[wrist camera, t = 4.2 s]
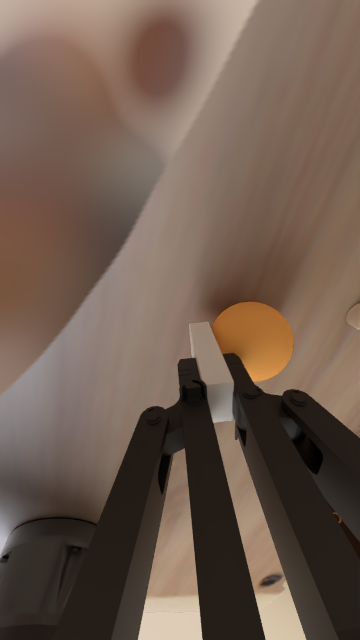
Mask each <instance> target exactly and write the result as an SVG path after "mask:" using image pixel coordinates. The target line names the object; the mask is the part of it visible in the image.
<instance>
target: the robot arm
mask: <svg viewBox="0 0 360 640" xmlns="http://www.w3.org/2000/svg"><path fill="white" fill-rule="evenodd" d="M189 329H190V342H191V354H192V358H187V359H180V361H179V363H178V374H179V385H180V388H179V391H180V398H179V400H178V402H177V403H176V404H175V405H173V406H172V407H170V408H167V409H164V408H162V407H159V406H153V407H150V408H147V409H146V410H145V411H144V412H143V413H142V414H141V416H140V418H139V421H138V423H137V426H136V428H135V431H134V433H133V436H132V438H131V441H130V443H129V446H128V448H127V451H126V454H125V456H124V459H123V461H122V464H121V466H120V469H119V471H118V474H117V476H116V479H115V481H114V484H113V486H112V489H111V492H110V494H109V497H108V499H107V502H106V504H105V507H104V509H103V512H102V514H101V517H100V519H99V522H98V525H97V526H96V525H93V524H91V523H87V522H84V521H79V520H73V519H44V520H38V521H33V522H29V523H26V524H24V525H22V526H20V527H18V528H16V529H15V530H14V531H13V532H12V533H11V534H10V536H9V538H8V540H7V542H6V544H5V546H4V548H3V550H2V552H1V555H0V640H138V635H139V630H140V625H141V620H142V615H143V610H144V604H145V599H146V594H147V589H148V584H149V579H150V573H151V568H152V563H153V558H154V553H155V548H156V542H157V537H158V532H159V527H160V522H161V517H162V511H163V506H164V501H165V496H166V491H167V486H168V480H169V475H170V470H171V465H172V460H173V455H174V453H176V452H178V451H180V450H182V449H184V448H185V453H186V464H187V475H188V486H189V497H190V508H191V519H192V529H193V540H194V551H195V562H196V573H197V584H198V595H199V606H200V617H201V627H202V638H203V640H265V636H264V631H263V627H262V623H261V619H260V615H259V611H258V606H257V602H256V598H255V594H254V590H253V586H252V581H251V577H250V573H249V569H248V565H247V561H246V557H245V552H244V548H243V544H242V540H241V536H240V532H239V528H238V523H237V519H236V515H235V511H234V507H233V503H232V499H231V494H230V490H229V486H228V482H227V478H226V474H225V470H224V465H223V461H222V457H221V453H220V449H219V445H218V441H217V436H216V432H215V428H214V424H213V423H217V422H225V421H233V416H234V419H235V440H237V439H238V438H239V441H240V444H241V447H242V450H243V453H244V456H245V459H246V462H247V465H248V468H249V471H250V474H251V477H252V480H253V483H254V486H255V489H256V492H257V495H258V497H259V500H260V503H261V506H262V509H263V512H264V515H265V518H266V521H267V524H268V527H269V530H270V533H271V536H272V539H273V542H274V545H275V548H276V551H277V554H278V557H279V560H280V563H281V566H282V569H283V572H284V575H285V577H286V580H287V583H288V586H289V589H290V592H291V595H292V598H293V601H294V604H295V607H296V610H297V613H298V616H299V619H300V622H301V625H302V628H303V631H304V634H305V636H306V639H307V640H360V559H359V557H358V556H357V554H356V552H355V550H354V549H353V547H352V545H351V543H350V542H349V540H348V538H347V536H346V535H345V533H344V531H343V529H342V528H341V526H340V524H339V522H338V521H337V519H336V517H335V515H334V514H333V512H332V510H331V508H330V507H329V505H328V503H329V504H330V505H331V507H332V508H333V509H334V510H335V512H336V513H337V514H338V515H339V517H340V518H341V519H342V521H343V522H344V523H345V524H346V526H347V527H348V528H349V529H350V531H351V532H352V533H353V534H354V536H355V537H356V538H357V539H358V541H359V542H360V438H359V437H358V436H356V435H355V434H354V433H353V432H352V431H351V430H349V429H348V428H347V427H346V426H345V425H343V424H342V423H341V422H340V421H339V420H338V419H336V418H335V417H334V416H333V415H332V414H330V413H329V412H328V411H327V410H326V409H325V408H323V407H322V406H321V405H320V404H319V403H317V402H316V401H315V400H314V399H313V398H312V397H310V396H309V395H308V394H306V393H305V392H302V391H300V390H295V389H291V390H287V391H285V392H284V393H283V395H282V396H279V395H271V394H267V393H264V392H263V391H262V389H261V388H259V387H258V386H256V385H254V383H253V381H252V379H251V377H250V375H249V374H248V372H247V370H246V368H245V366H244V364H243V363H242V361H241V359H240V357H239V356H237V355H236V354H235V353H226V354H222V353H221V351H220V348H219V346H218V344H217V341H216V339H215V337H214V334H213V332H212V329H211V327H210V325H209V322H199V323H190V324H189ZM325 499H326V500H327V501H326V500H325ZM327 502H328V503H327Z"/></svg>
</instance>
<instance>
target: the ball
mask: <svg viewBox="0 0 360 640" xmlns="http://www.w3.org/2000/svg"><path fill="white" fill-rule="evenodd" d="M212 332H213V334H214V337H215V339H216V341H217V344H218V346H219V348H220V351H221V353H222V354H226V353H235V354H236V355H237V356H239V357H240V359H241V361H242V363H243V364H244V366H245V368H246V370H247V372H248V374H249V375H250V377H251V379H252V381H253V382H258V381H263V380H267V379H269V378H271V377H273V376H275V375H277V374H278V373H280V372H281V371H282V370H283V369H284V368H285V366H286V365H287V364H288V362H289V360H290V358H291V355H292V352H293V347H294V340H293V334H292V330H291V328H290V326H289V324H288V322H287V321H286V319H285V318H284V317H283V316H282V314H280V313H279V312H278V311H277V310H275V309H274V308H272V307H270V306H268V305H266V304H263V303H258V302H242V303H238V304H235V305H233V306H230V307H229V308H227V309H225V310H224V311H223V312H222V313H221V314H220V315H219V316H218V317H217V319H216V320H215V322H214V324H213V326H212Z"/></svg>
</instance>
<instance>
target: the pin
mask: <svg viewBox="0 0 360 640" xmlns="http://www.w3.org/2000/svg"><path fill="white" fill-rule="evenodd" d="M346 322H347V323H348V324H349V325H350V326H352V327H354V328H356V329H358V330H359V331H360V303H358V304H356V305H354V306H353V307H352V308H351V309H350V310H349V311H348V313H347V315H346Z"/></svg>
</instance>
